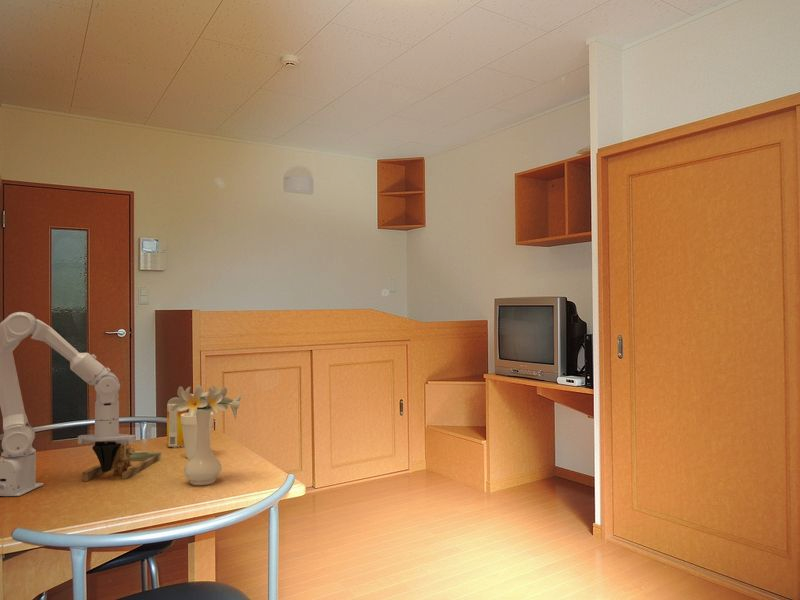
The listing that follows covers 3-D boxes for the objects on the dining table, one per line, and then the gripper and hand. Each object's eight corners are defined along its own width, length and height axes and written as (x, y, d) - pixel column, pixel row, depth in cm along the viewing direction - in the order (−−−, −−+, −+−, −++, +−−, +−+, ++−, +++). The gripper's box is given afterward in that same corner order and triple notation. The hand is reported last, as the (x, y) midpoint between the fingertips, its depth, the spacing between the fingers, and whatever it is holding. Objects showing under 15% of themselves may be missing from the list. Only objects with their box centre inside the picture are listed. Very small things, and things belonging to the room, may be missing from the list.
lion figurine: (135, 475, 159) (135, 441, 159) (113, 478, 156) (113, 444, 156) (130, 463, 171) (130, 432, 172) (109, 465, 169) (110, 434, 169)
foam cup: (197, 452, 185) (197, 410, 185) (219, 455, 181) (219, 412, 181) (173, 458, 177) (173, 415, 177) (196, 462, 173) (196, 417, 173)
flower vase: (246, 483, 151) (246, 385, 151) (169, 493, 143) (169, 390, 143) (237, 471, 162) (237, 380, 163) (165, 479, 154) (166, 384, 155)
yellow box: (189, 444, 196) (189, 399, 197) (183, 448, 190) (183, 401, 191) (170, 444, 196) (171, 399, 196) (164, 448, 190) (164, 402, 190)
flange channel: (123, 481, 153) (123, 471, 153) (82, 480, 153) (82, 471, 153) (160, 459, 176) (160, 451, 176) (125, 459, 176) (125, 451, 176)
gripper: (141, 416, 159) (140, 466, 159) (88, 416, 160) (88, 466, 159) (128, 421, 152) (128, 474, 152) (73, 421, 152) (72, 473, 152)
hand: (106, 470), depth 155 cm, fingers closed
